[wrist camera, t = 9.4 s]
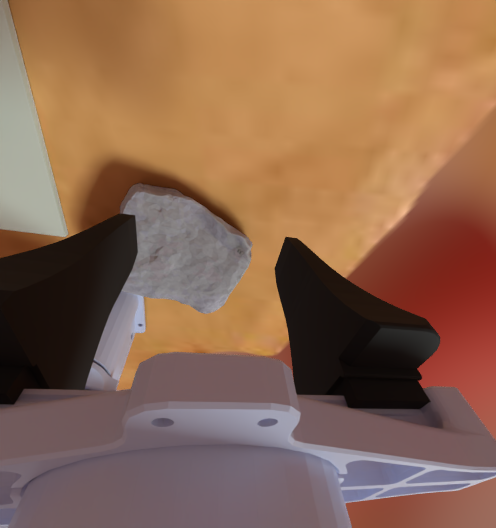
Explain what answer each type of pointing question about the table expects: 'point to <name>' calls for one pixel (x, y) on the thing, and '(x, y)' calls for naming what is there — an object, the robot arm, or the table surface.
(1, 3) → the sage mat
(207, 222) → the stone block
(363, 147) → the table surface
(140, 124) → the table surface
